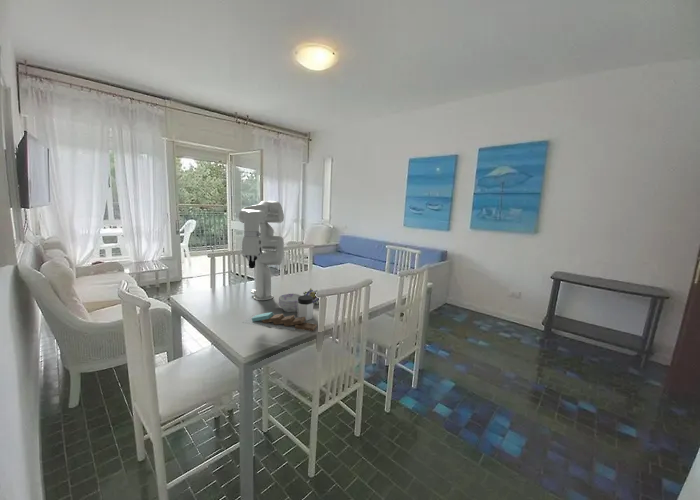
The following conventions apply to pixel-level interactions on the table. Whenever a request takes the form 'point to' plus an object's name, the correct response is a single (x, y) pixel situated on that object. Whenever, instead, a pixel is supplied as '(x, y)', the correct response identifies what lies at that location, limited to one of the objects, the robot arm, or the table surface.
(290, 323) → the tile
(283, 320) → the tile
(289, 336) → the table surface
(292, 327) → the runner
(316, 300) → the passion flower
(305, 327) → the tile
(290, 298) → the paper bowls
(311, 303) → the jar
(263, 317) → the tile
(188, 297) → the table surface
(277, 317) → the tile
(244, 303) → the table surface
